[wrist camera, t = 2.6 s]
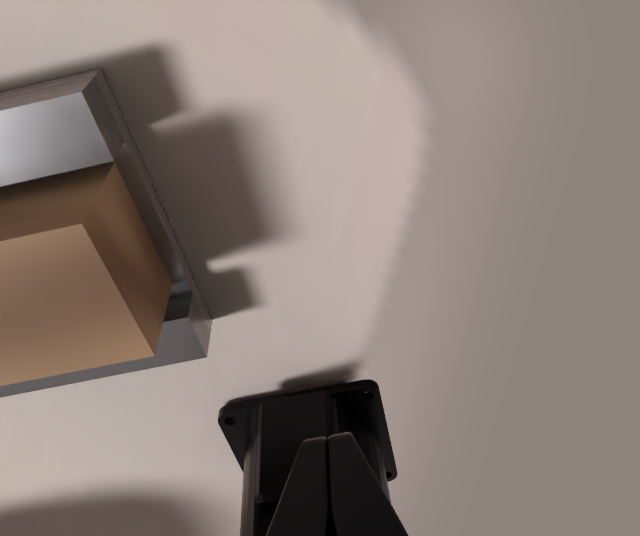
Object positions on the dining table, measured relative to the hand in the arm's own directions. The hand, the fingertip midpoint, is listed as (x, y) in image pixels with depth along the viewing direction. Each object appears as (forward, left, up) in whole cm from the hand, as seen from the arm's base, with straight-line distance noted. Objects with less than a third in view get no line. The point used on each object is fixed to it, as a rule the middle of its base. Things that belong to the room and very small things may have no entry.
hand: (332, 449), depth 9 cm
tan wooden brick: (0, +8, -9) cm, 12 cm away
